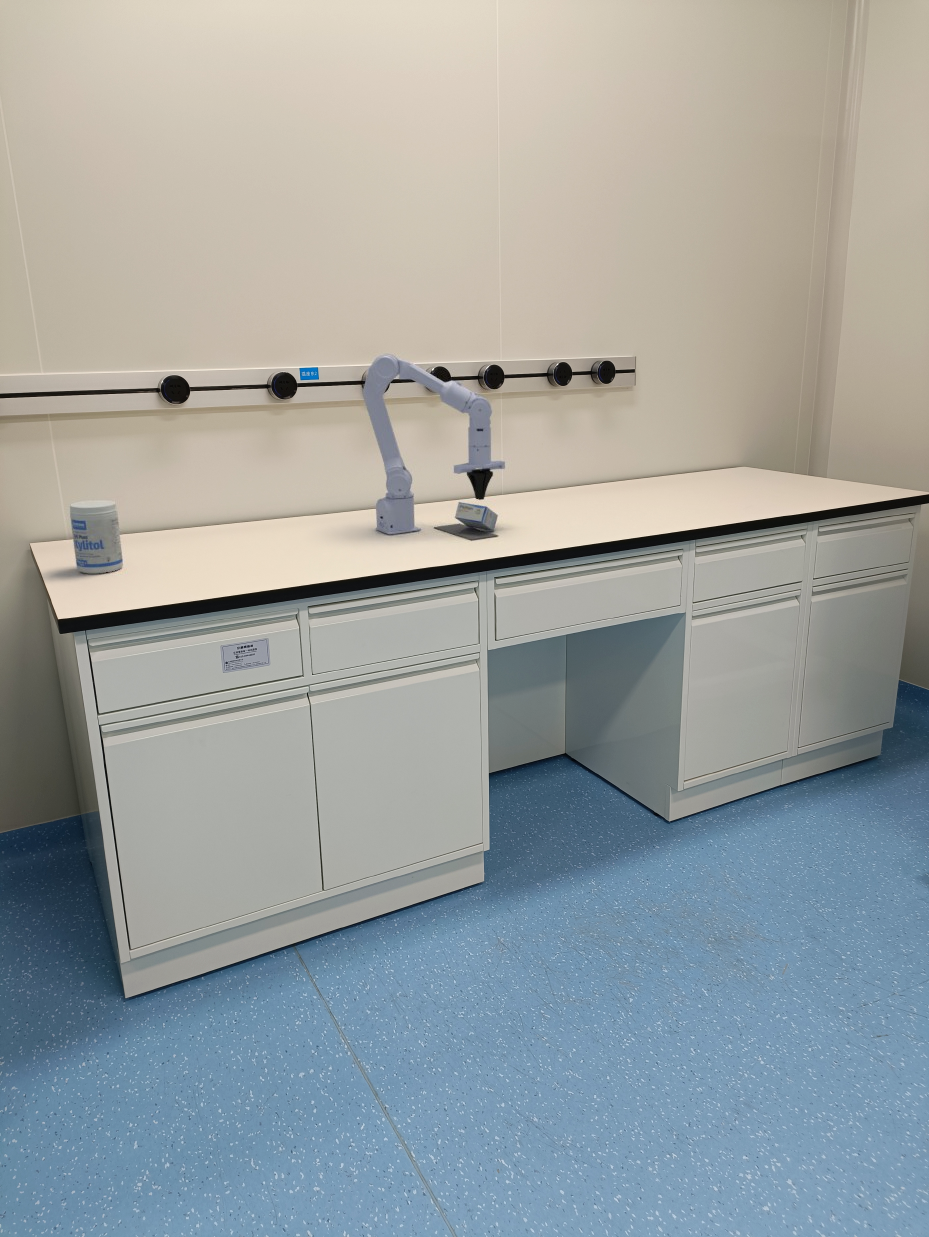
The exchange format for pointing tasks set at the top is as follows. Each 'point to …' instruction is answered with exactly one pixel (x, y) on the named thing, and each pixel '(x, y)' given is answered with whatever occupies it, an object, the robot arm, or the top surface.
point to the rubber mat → (466, 531)
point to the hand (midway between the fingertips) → (479, 499)
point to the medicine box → (476, 516)
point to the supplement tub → (96, 536)
